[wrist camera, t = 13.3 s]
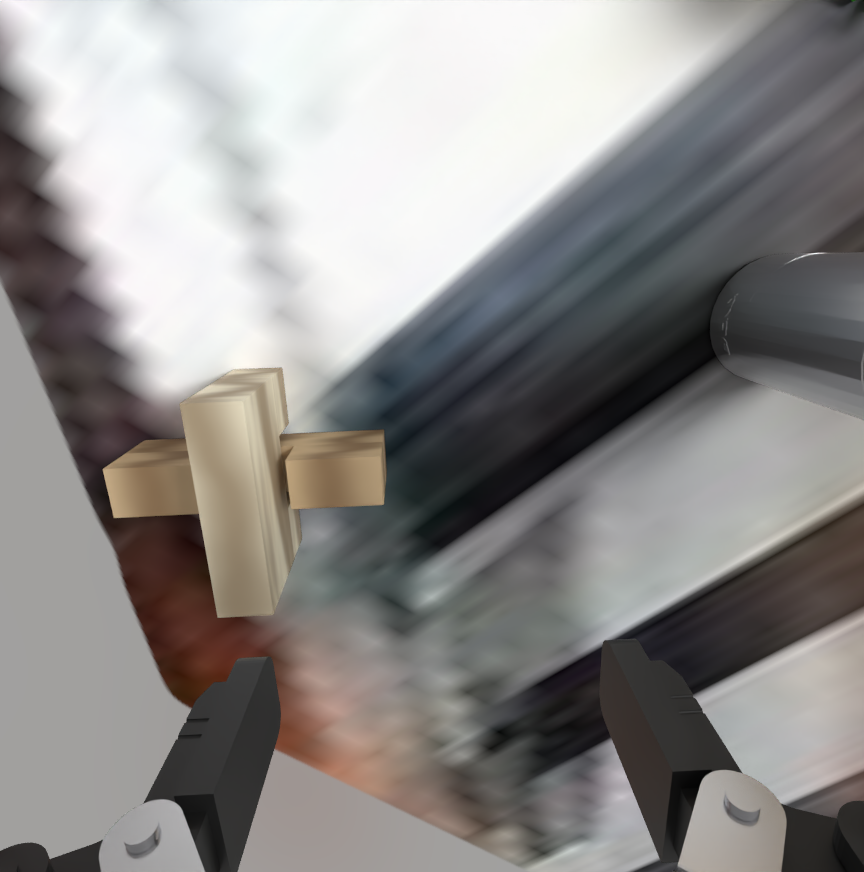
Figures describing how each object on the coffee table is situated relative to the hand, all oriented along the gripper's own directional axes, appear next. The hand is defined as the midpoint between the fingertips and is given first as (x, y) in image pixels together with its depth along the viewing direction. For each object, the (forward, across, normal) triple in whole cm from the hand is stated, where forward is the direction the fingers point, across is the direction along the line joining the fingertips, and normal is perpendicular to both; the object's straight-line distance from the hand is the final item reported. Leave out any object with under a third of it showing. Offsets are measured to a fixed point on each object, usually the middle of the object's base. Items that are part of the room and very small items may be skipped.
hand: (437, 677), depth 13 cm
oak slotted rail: (+29, +12, +4) cm, 32 cm away
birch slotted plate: (+29, +12, +4) cm, 32 cm away
